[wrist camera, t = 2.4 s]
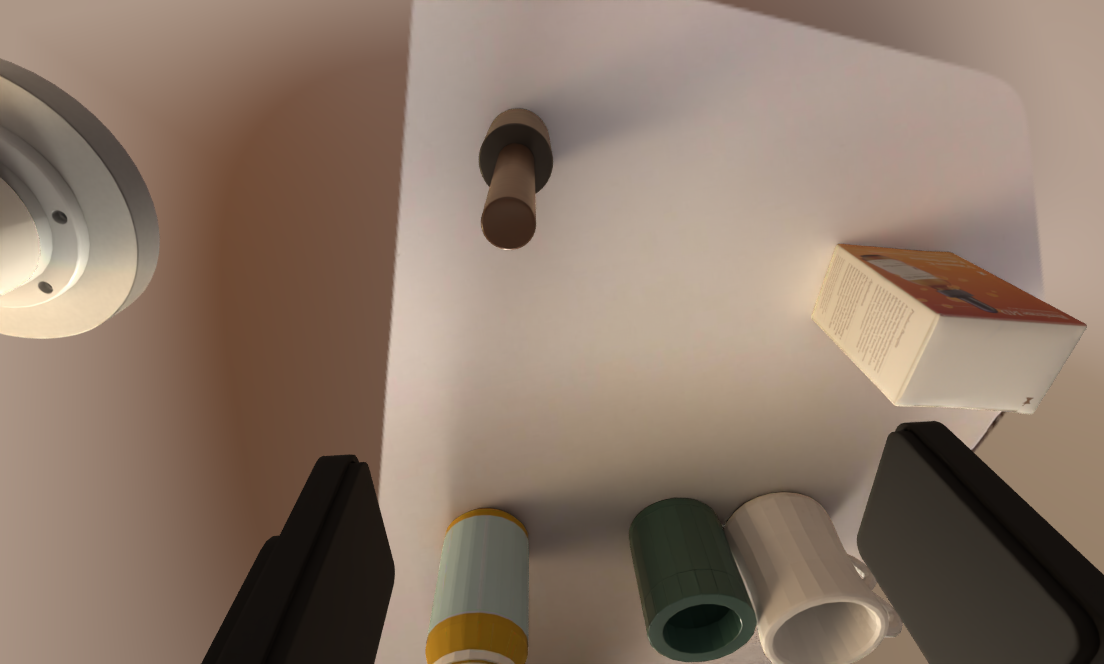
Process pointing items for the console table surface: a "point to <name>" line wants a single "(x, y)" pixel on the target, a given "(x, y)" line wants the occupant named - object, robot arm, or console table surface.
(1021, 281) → the console table surface
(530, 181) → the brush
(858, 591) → the mug
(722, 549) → the green pen holder
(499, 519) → the bottle
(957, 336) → the small box
